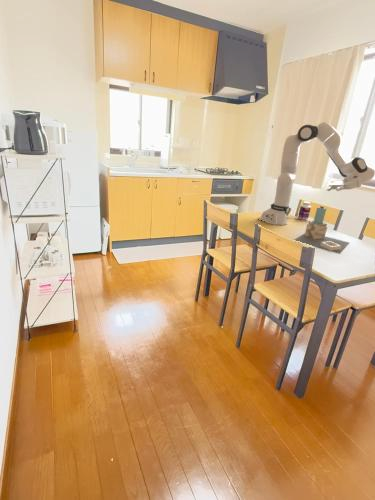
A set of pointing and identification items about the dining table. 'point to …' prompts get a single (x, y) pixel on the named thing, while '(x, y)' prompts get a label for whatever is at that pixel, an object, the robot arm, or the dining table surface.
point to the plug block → (319, 215)
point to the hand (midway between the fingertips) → (332, 189)
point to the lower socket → (330, 245)
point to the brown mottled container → (316, 230)
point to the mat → (317, 242)
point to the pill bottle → (304, 211)
